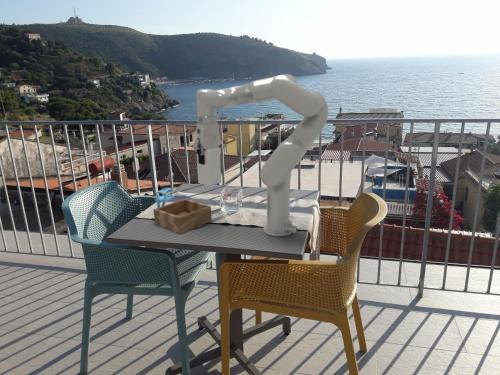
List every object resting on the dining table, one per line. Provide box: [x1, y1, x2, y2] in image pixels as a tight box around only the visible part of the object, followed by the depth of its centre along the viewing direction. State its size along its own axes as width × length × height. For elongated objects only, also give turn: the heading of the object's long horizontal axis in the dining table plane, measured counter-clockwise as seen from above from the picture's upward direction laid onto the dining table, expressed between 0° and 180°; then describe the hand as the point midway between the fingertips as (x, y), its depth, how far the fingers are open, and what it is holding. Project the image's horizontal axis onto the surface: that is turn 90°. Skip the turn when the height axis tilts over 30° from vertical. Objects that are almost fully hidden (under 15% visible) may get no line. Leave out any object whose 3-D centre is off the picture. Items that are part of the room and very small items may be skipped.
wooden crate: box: [153, 198, 213, 235], centre depth 172 cm, size 18×18×7 cm
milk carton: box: [196, 146, 222, 187], centre depth 162 cm, size 7×7×19 cm
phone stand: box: [154, 187, 175, 208], centre depth 185 cm, size 8×8×12 cm
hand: (208, 161), depth 162 cm, fingers closed on milk carton, 7 cm apart
